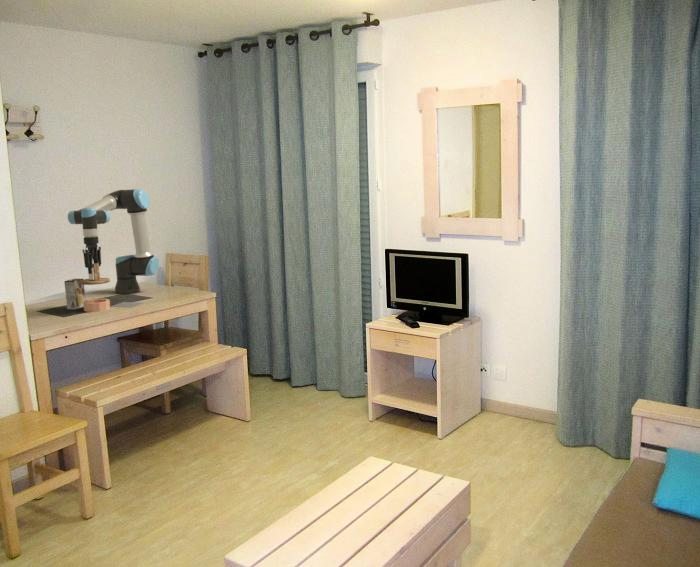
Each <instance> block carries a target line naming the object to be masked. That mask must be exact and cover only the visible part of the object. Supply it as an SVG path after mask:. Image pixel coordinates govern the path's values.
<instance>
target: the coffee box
mask: <svg viewBox="0 0 700 567" xmlns="http://www.w3.org/2000/svg"><path fill="white" fill-rule="evenodd" d="M80 280H84V278H71V279H67V280H64V290H65V299H66V301H65V302H66V309H67V310H76V309H77V310H78V309H80V308H84V305H83V302H84V301H87V300H86V292H85V285H82V284H79V281H80Z"/></svg>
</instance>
